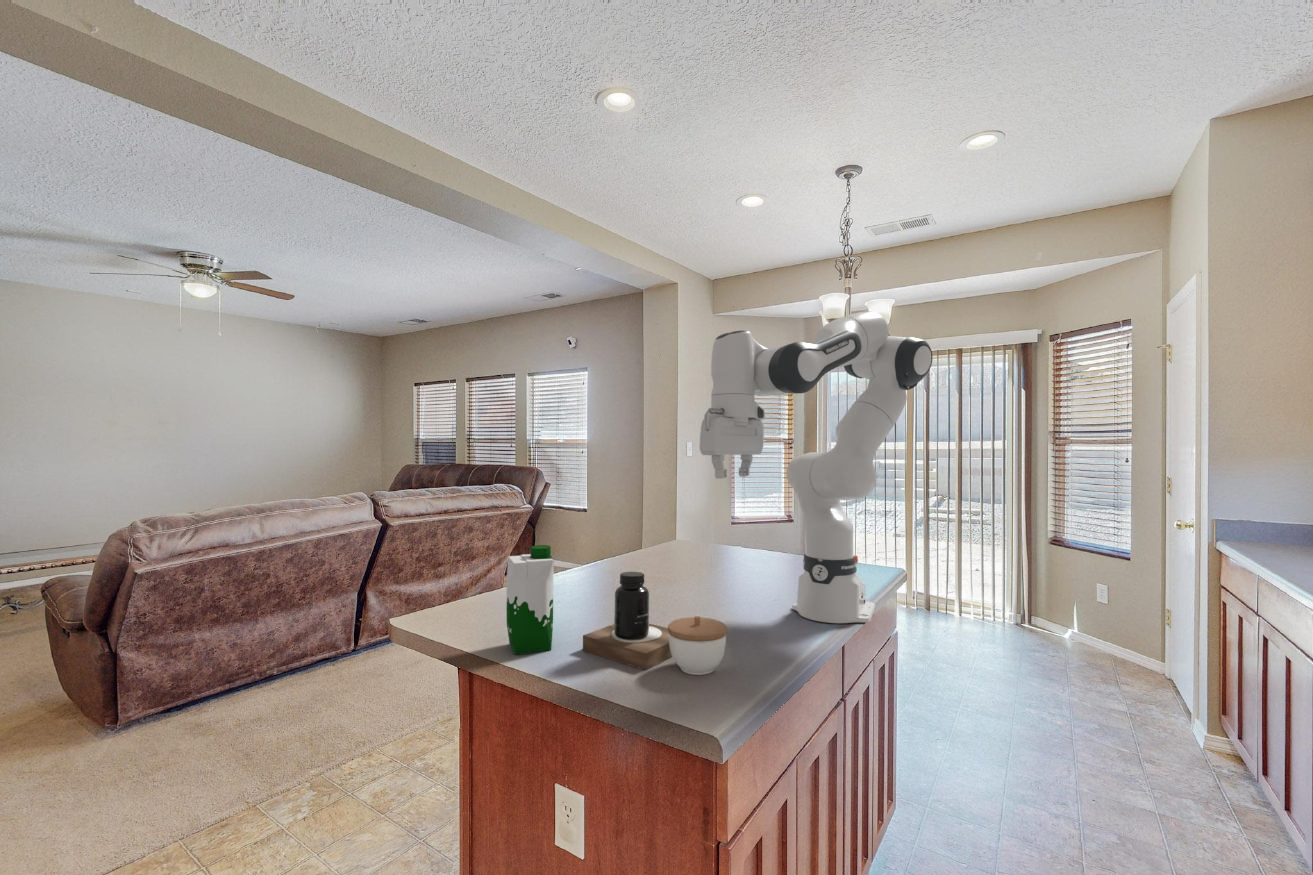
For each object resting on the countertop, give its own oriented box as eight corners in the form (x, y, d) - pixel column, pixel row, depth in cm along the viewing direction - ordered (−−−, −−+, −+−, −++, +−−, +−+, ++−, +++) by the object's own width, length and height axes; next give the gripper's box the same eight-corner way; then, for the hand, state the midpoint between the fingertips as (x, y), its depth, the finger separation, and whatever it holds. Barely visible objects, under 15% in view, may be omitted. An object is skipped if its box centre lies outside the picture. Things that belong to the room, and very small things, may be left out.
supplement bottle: (646, 641, 108) (646, 578, 108) (611, 640, 109) (611, 577, 109) (651, 630, 115) (651, 570, 115) (618, 628, 116) (618, 569, 116)
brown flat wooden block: (628, 632, 123) (628, 617, 123) (689, 648, 114) (689, 631, 114) (582, 650, 112) (582, 633, 112) (646, 670, 103) (646, 651, 103)
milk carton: (557, 651, 112) (557, 549, 112) (510, 657, 109) (510, 552, 109) (547, 637, 120) (547, 542, 121) (503, 643, 117) (504, 545, 117)
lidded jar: (725, 682, 97) (725, 627, 97) (663, 678, 99) (663, 624, 99) (728, 659, 108) (728, 609, 108) (672, 655, 110) (672, 607, 110)
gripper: (719, 406, 106) (719, 480, 106) (768, 411, 122) (769, 475, 122) (691, 407, 110) (691, 479, 110) (743, 412, 126) (743, 475, 126)
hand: (732, 477), depth 116 cm, fingers open, 8 cm apart
